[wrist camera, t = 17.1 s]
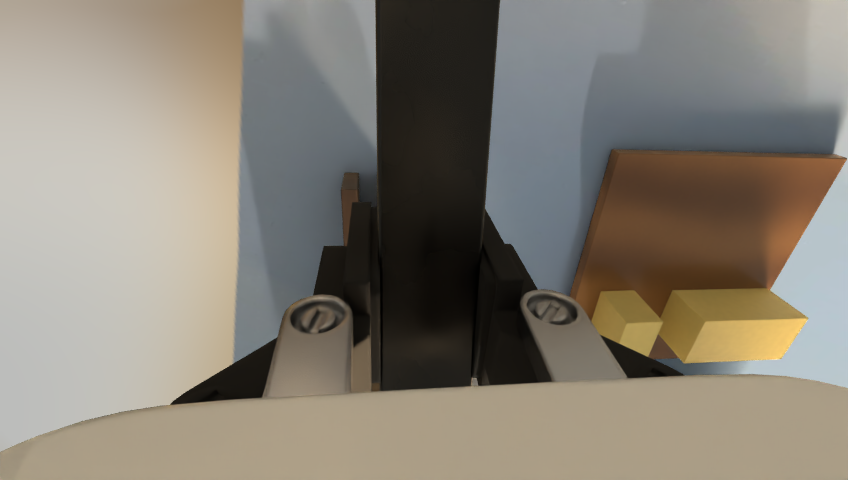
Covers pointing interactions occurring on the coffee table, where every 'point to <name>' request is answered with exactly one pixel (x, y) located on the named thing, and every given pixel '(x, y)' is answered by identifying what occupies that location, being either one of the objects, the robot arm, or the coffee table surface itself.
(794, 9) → the coffee table surface
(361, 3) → the coffee table surface
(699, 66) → the coffee table surface
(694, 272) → the board
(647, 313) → the butter slice
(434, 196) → the knife
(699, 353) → the butter block
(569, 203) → the coffee table surface
